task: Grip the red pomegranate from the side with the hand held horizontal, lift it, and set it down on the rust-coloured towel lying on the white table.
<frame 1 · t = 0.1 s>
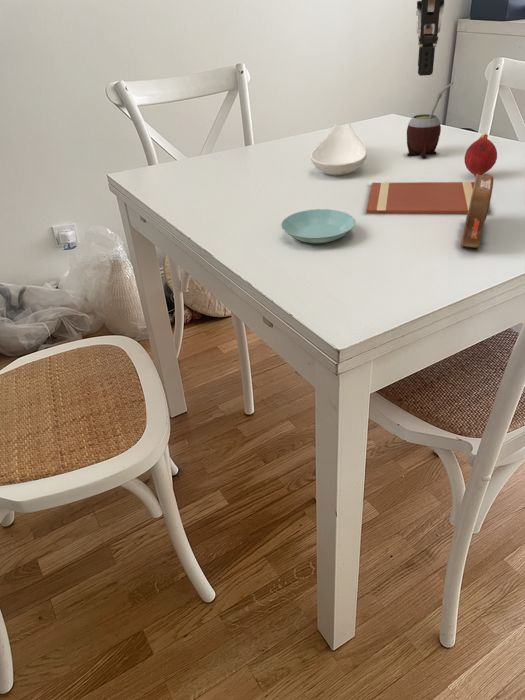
hand: (424, 70, 86), 21 cm above the table, tool pointing down, fingers open, 8 cm apart
red pomegranate: (477, 177, 105), on the table
towel: (425, 198, 98), on the table
mate gourd: (423, 155, 120), on the table
spoon rest: (339, 164, 120), on the table
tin: (473, 237, 83), on the table
saucer: (318, 236, 88), on the table
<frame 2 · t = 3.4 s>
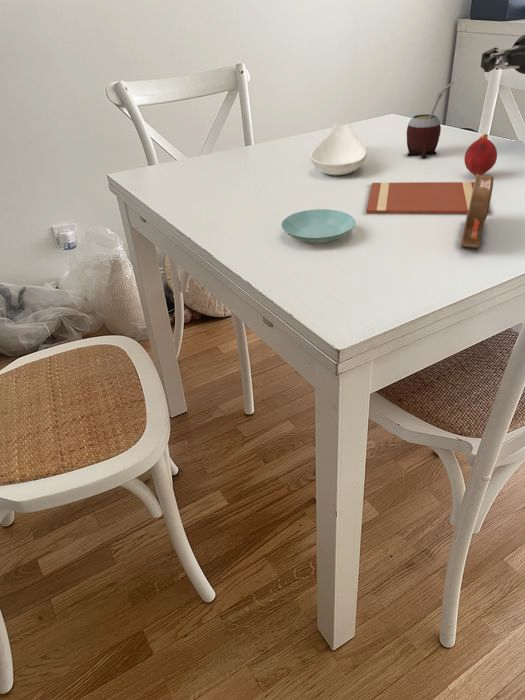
hand: (509, 67, 101), 18 cm above the table, tool horizontal, fingers open, 8 cm apart
nothing on the table moved.
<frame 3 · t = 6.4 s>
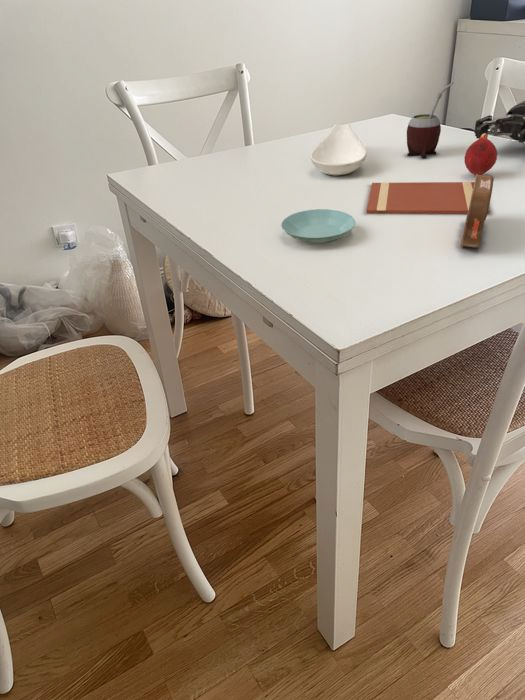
hand: (499, 135, 107), 6 cm above the table, tool horizontal, fingers open, 8 cm apart
nothing on the table moved.
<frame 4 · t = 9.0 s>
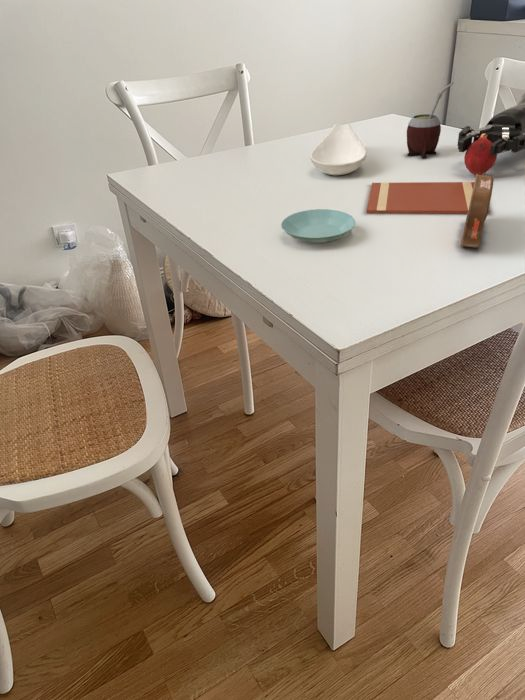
hand: (476, 148, 100), 6 cm above the table, tool horizontal, fingers closed on red pomegranate, 5 cm apart
red pomegranate: (477, 177, 105), on the table, touching gripper
everything else where it was.
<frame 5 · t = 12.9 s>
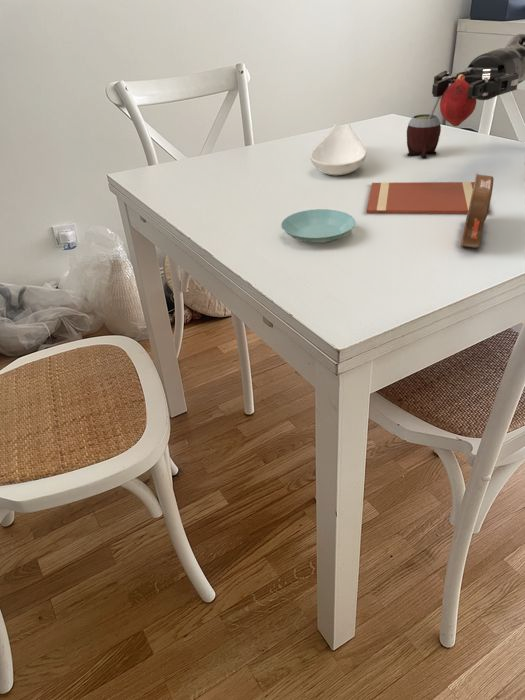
hand: (452, 91, 88), 18 cm above the table, tool horizontal, fingers closed on red pomegranate, 5 cm apart
red pomegranate: (455, 127, 93), point 11 cm above the table, touching gripper
everything else where it was.
when the fingers open (7 cm above the table, at t = 17.1 s): red pomegranate stays where it is, resting on towel.
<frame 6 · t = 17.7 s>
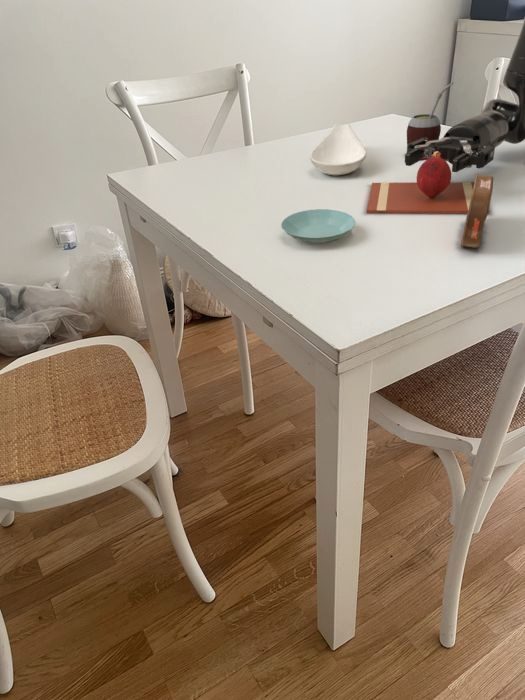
hand: (430, 163, 91), 7 cm above the table, tool horizontal, fingers open, 8 cm apart
red pomegranate: (431, 199, 96), resting on towel
everything else where it was.
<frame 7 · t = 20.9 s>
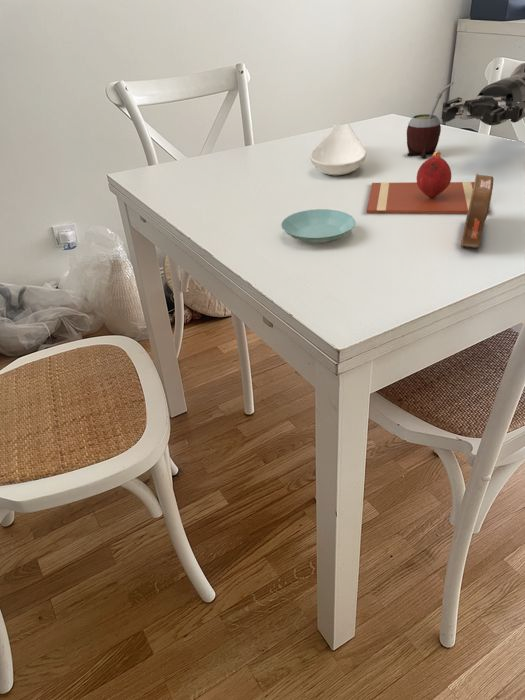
hand: (467, 117, 96), 12 cm above the table, tool horizontal, fingers open, 8 cm apart
nothing on the table moved.
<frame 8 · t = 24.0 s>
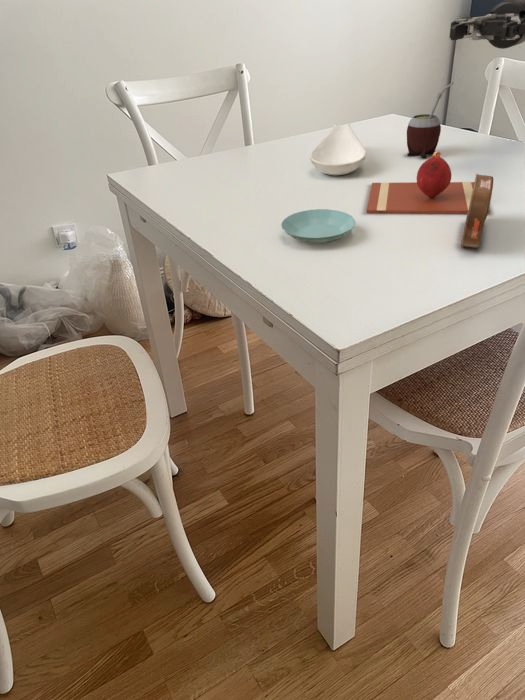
hand: (477, 32, 89), 25 cm above the table, tool horizontal, fingers open, 8 cm apart
nothing on the table moved.
at the end: red pomegranate inside the target area on the towel (1.7 cm from its centre), point 0.4 cm above the towel's base; red pomegranate touching towel; the gripper is holding nothing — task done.
